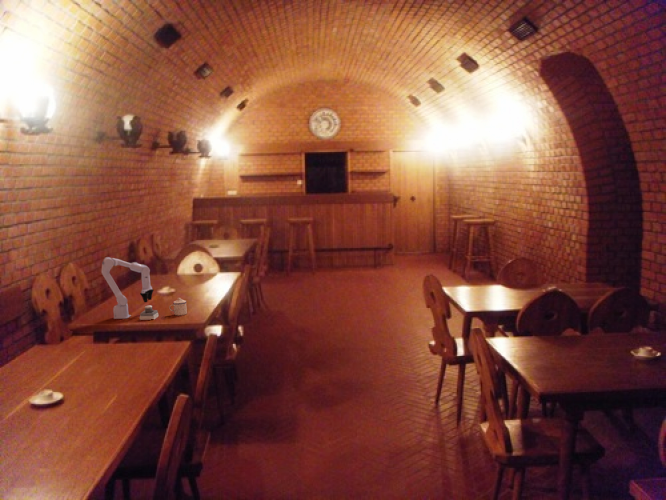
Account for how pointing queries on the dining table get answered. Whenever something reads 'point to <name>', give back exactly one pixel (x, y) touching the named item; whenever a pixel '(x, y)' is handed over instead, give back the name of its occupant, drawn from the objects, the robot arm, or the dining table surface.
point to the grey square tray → (148, 315)
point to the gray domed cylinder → (148, 309)
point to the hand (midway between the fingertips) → (147, 301)
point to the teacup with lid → (179, 307)
